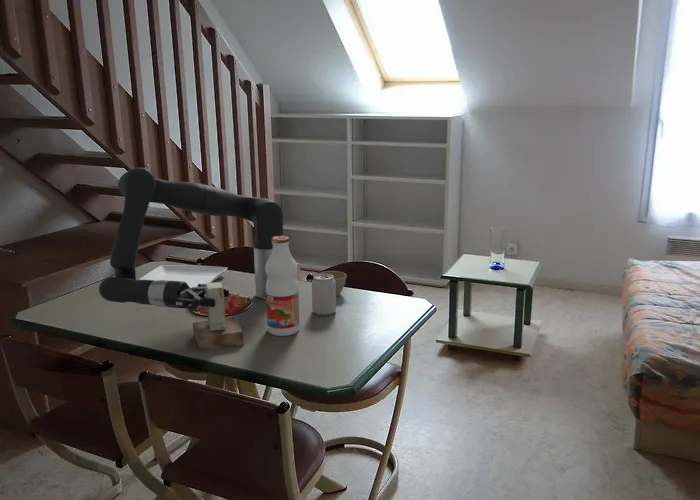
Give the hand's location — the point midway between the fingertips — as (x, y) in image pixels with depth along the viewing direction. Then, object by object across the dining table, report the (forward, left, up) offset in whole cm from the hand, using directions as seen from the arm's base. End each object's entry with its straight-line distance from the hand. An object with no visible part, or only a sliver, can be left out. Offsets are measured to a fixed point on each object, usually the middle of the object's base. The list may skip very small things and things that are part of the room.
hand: (221, 297), depth 169 cm
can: (-33, -11, -13) cm, 38 cm away
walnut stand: (+2, -1, -13) cm, 13 cm away
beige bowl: (-41, -26, -13) cm, 51 cm away
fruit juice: (-17, -1, -13) cm, 22 cm away
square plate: (+6, -58, -13) cm, 60 cm away
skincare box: (+2, -1, -9) cm, 9 cm away
